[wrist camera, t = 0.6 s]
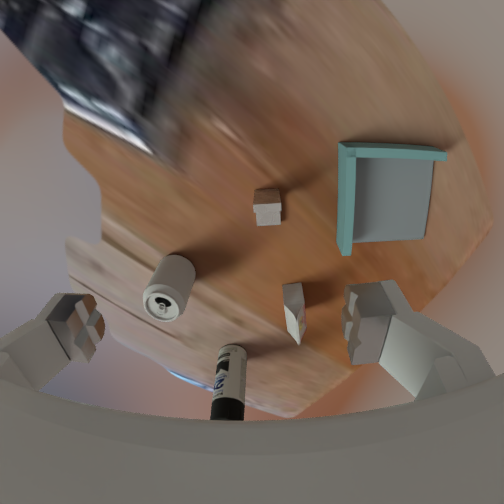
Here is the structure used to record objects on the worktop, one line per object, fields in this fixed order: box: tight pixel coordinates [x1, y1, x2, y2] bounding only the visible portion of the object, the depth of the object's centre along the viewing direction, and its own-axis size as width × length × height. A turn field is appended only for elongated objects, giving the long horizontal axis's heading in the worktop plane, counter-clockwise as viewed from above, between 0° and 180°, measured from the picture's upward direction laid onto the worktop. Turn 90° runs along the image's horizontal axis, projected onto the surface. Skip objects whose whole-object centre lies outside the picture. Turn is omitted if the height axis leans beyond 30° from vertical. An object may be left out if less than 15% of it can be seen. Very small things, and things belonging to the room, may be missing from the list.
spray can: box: [210, 345, 247, 421], centre depth 60 cm, size 7×7×20 cm
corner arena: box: [336, 142, 447, 256], centre depth 46 cm, size 18×18×5 cm
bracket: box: [253, 189, 281, 226], centre depth 47 cm, size 6×4×7 cm, turn 5°
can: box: [143, 255, 196, 322], centre depth 52 cm, size 8×8×12 cm
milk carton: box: [282, 283, 307, 344], centre depth 55 cm, size 4×7×10 cm, turn 10°
